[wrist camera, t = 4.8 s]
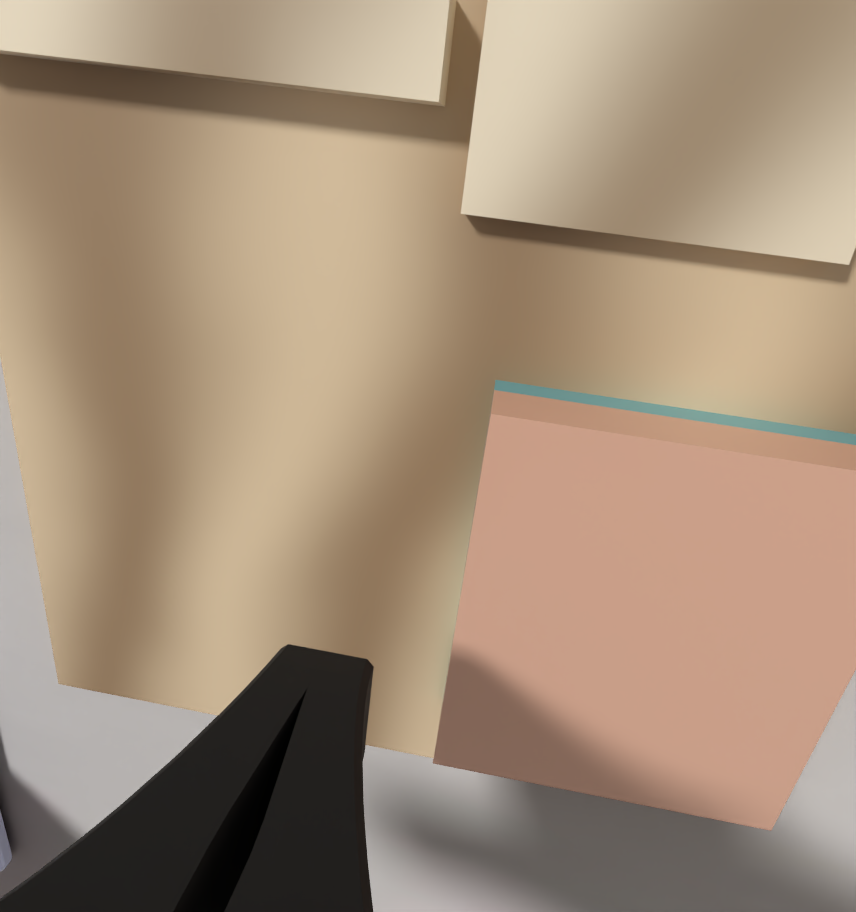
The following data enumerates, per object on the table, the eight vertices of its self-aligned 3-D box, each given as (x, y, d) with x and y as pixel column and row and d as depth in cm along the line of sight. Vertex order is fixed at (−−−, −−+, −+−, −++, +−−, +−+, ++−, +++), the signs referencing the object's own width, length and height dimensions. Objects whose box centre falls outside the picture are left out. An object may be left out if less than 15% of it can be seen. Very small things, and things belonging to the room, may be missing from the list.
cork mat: (70, 670, 17) (58, 683, 17) (-80, -236, 10) (-109, -256, 9) (753, 804, 16) (760, 822, 15) (1213, -129, 8) (1253, -146, 8)
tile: (433, 763, 14) (771, 830, 13) (490, 413, 10) (952, 485, 10) (442, 699, 15) (744, 756, 15) (495, 379, 12) (890, 439, 11)
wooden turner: (-11, 149, 11) (-48, 147, 11) (-65, -179, 9) (-114, -207, 9) (834, 260, 10) (858, 267, 9) (963, -86, 8) (1005, -110, 8)
